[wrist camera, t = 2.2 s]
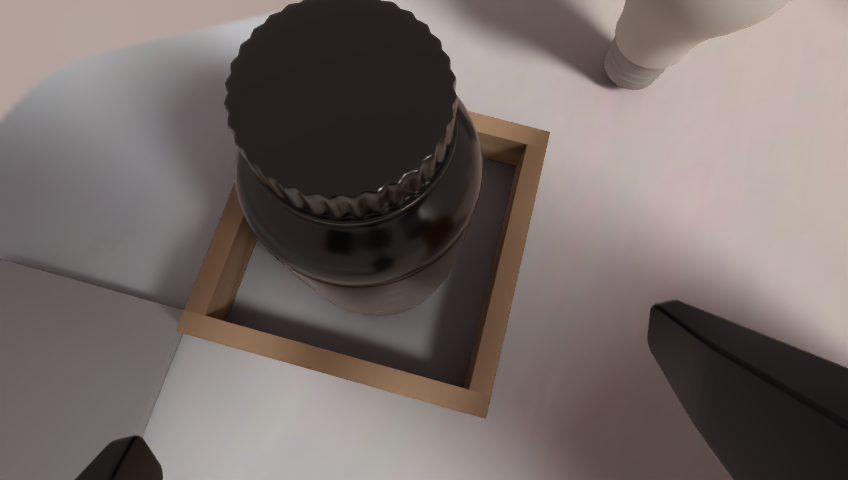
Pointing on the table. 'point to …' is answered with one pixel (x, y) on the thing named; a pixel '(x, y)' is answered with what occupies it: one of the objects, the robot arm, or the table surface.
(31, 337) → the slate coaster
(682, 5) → the lightbulb
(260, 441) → the table surface
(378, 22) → the supplement bottle
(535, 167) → the wooden square frame
